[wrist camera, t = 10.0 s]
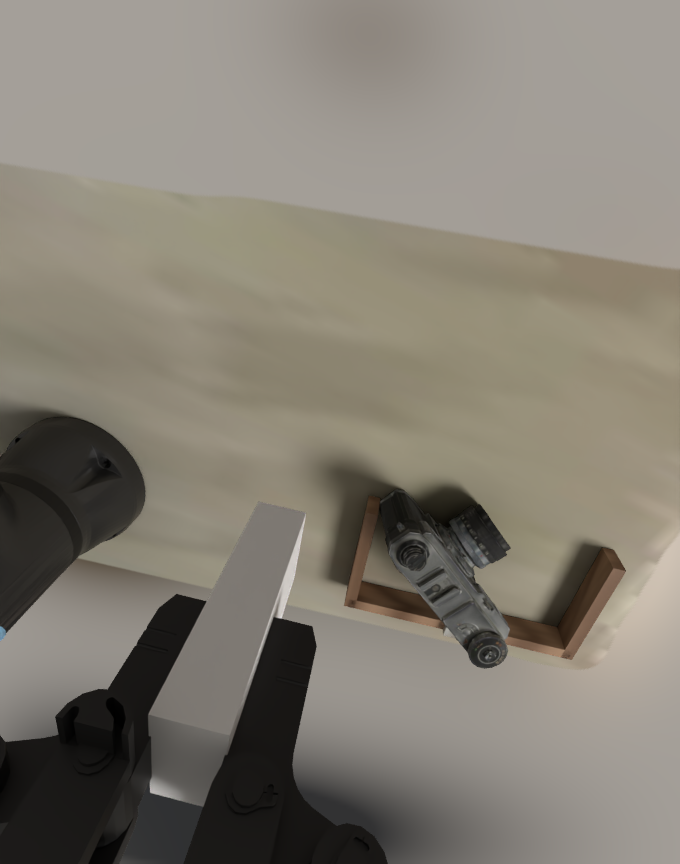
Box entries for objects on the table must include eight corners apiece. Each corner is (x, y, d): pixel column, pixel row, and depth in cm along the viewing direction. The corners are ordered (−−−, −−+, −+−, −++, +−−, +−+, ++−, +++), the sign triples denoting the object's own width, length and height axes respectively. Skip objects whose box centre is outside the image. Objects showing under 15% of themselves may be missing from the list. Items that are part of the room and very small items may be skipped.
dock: (347, 586, 54) (343, 611, 51) (369, 495, 48) (365, 517, 44) (563, 636, 52) (573, 666, 49) (614, 550, 46) (629, 577, 43)
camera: (527, 566, 51) (574, 634, 41) (458, 609, 52) (487, 683, 43) (440, 449, 46) (470, 495, 36) (366, 500, 47) (377, 557, 38)
